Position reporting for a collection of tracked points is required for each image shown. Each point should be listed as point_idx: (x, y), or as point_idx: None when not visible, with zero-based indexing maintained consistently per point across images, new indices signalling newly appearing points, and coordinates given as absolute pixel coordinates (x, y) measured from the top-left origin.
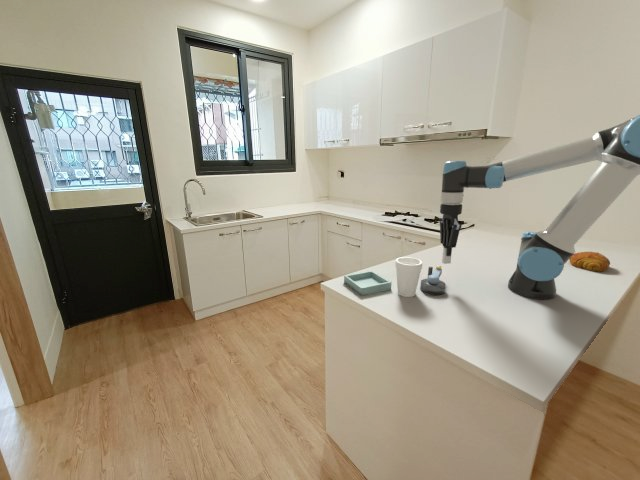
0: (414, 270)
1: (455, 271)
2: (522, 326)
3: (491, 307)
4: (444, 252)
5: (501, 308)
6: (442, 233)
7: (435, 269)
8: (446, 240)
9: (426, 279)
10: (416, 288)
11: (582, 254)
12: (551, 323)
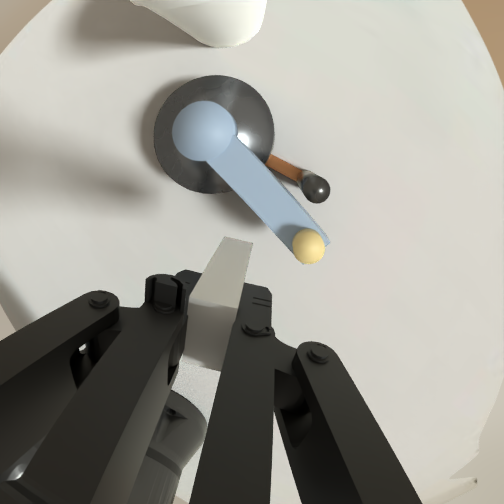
0: None
1: (355, 361)
2: (13, 245)
3: (71, 252)
4: (211, 273)
5: (67, 273)
6: (339, 472)
7: (309, 222)
8: (144, 362)
9: (263, 127)
10: (191, 35)
11: None
12: (27, 309)
